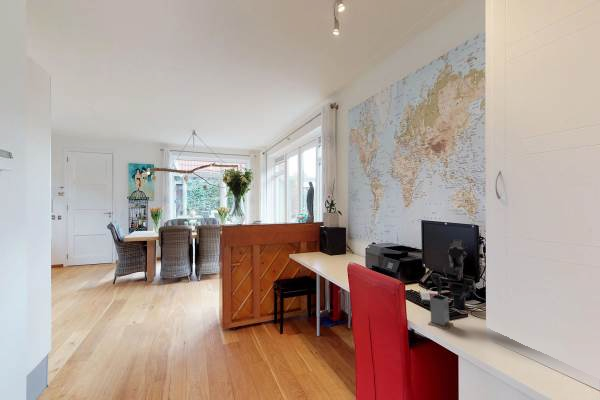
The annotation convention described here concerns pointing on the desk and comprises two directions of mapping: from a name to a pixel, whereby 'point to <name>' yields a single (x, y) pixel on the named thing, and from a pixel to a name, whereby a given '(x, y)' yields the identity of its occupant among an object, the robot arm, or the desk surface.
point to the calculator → (426, 295)
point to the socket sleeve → (439, 310)
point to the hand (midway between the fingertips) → (448, 296)
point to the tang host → (441, 326)
